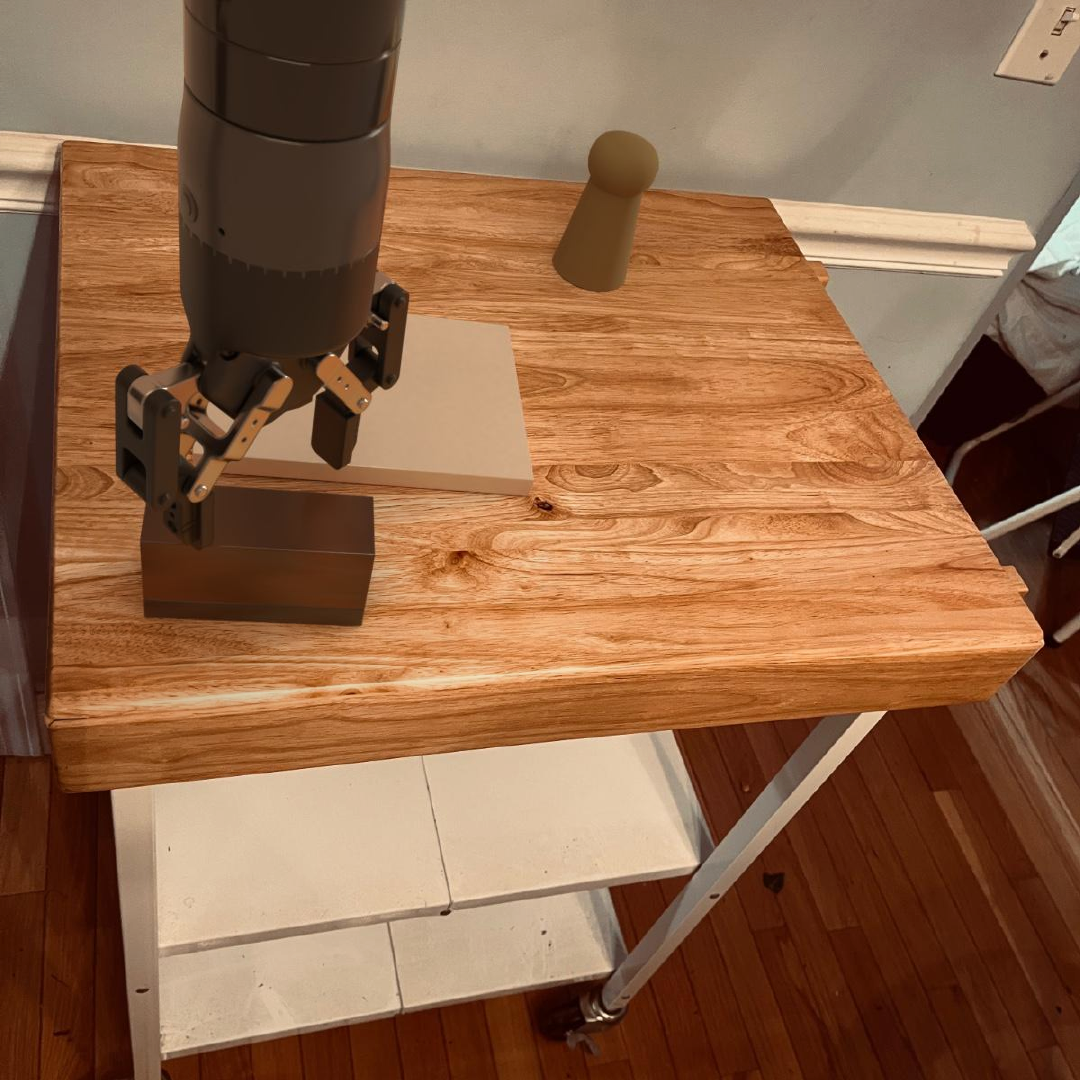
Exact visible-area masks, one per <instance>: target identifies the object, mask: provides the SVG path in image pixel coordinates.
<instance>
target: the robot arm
mask: <svg viewBox="0 0 1080 1080" xmlns="http://www.w3.org/2000/svg"><path fill="white" fill-rule="evenodd" d="M406 9H407V0H182V34H183V35H182V36H183V37H182V38H183V39H182V41H183V43H182V44H183V74H184V75H183V89H182V91H183V92H182V98H181V99H182V100H181V104H180V105H181V106H180V111H179V119H178V130H177V142H176V143H177V144H176V145H177V150H176V153H177V154H176V155H177V159H176V160H177V199H178V202H177V203H178V207H177V208H178V210H177V211H178V259H179V261H178V262H179V265H178V267H179V293H180V294H179V295H180V299H181V302H182V307H183V309H184V314H185V317H186V320H187V323H188V327H189V338H188V342H187V344H186V346H185V349H184V351H183V353H182V355H181V358H180V363H179V364H177V365H174V366H171V367H169V368H167V369H164V370H161V371H159V372H156V373H153V374H152V375H150V374H149V373H148V372H147V371H145V370H144V369H143V368H142V367H141V366H140V365H139V364H129V365H127V366H124V367H123V368H122V369H121V370H120V371H119V372H118V373H117V375H116V377H115V380H114V400H115V401H114V413H115V414H114V418H115V419H114V420H115V421H114V422H115V424H114V426H115V427H114V428H115V430H114V431H115V433H114V435H115V439H114V440H115V475H116V477H117V478H118V479H119V480H121V481H122V483H124V484H125V485H126V486H127V487H128V488H129V489H130V490H131V491H133V493H135V495H137V496H138V498H140V499H141V500H142V501H144V503H145V504H146V503H147V504H148V505H149V506H150V507H151V508H152V509H153V510H154V511H156V512H162V514H163V515H162V520H163V524H164V525H165V526H166V528H167V529H168V530H169V531H171V532H172V533H173V534H174V535H175V536H176V537H177V538H178V539H179V540H180V541H181V542H182V543H184V544H185V545H186V546H188V545H191V546H193V547H194V548H195V549H196V550H198V551H200V550H202V549H204V548H205V547H207V546H209V545H211V544H212V543H213V542H214V492H213V491H211V490H212V489H213V487H214V485H217V482H218V480H219V479H220V477H221V476H222V474H223V473H222V472H223V471H224V469H225V467H226V466H227V464H228V463H229V462H231V461H240V460H241V459H243V457H244V456H245V454H246V453H247V451H248V449H249V448H250V446H251V445H252V443H253V441H254V440H255V438H256V436H257V435H258V433H259V432H260V430H261V428H262V427H264V426H266V425H268V424H270V423H272V422H273V421H274V420H276V419H277V418H278V417H280V416H281V415H282V414H284V413H285V412H287V411H290V410H294V409H298V408H301V407H302V406H304V405H306V404H308V403H310V402H312V401H313V395H315V394H316V393H317V392H318V391H319V390H320V389H321V387H323V388H324V389H325V391H323V392H321V393H319V394H317V395H316V399H315V408H314V418H313V428H312V437H311V446H312V449H313V450H314V452H315V453H316V454H317V455H318V456H319V457H320V458H322V459H323V460H324V461H325V462H326V463H328V464H329V465H330V466H331V467H332V468H334V469H335V470H340V469H341V468H343V467H345V466H347V465H348V464H350V462H351V456H352V451H353V449H354V447H355V445H356V443H357V437H358V435H357V434H358V430H359V429H358V428H359V423H360V417H361V413H362V412H363V411H365V410H366V409H367V408H368V406H369V405H370V403H371V400H372V395H371V393H372V392H373V391H374V390H375V389H377V388H378V387H379V386H380V387H381V388H382V389H384V390H388V389H390V388H392V387H393V386H394V385H395V384H396V382H397V381H398V379H399V376H400V369H401V361H402V353H403V345H404V337H405V329H406V321H407V314H409V313H408V312H409V304H410V293H409V292H408V291H407V290H406V289H404V288H403V287H402V286H400V285H399V284H398V283H397V282H396V281H395V280H393V279H392V278H390V277H389V276H388V275H387V274H385V273H383V271H380V270H379V269H378V262H379V255H380V247H381V240H382V234H383V226H384V220H385V214H386V205H387V198H388V193H389V185H390V176H391V168H392V167H391V164H392V145H391V144H392V143H391V140H392V139H391V135H392V134H391V133H392V132H391V129H392V125H391V124H392V115H393V105H394V104H393V103H394V97H395V88H396V82H397V76H398V75H397V74H398V67H399V61H400V53H401V47H402V40H403V39H402V37H403V34H404V33H403V32H404V25H405V18H406V17H405V16H406ZM348 344H349V347H348V361H349V362H348V363H347V364H346V365H344V363H343V362H342V361H341V360H340V357H341V355H342V354H343V352H344V350H345V349H346V347H347V345H348ZM373 346H374V347H375V348H376V350H377V352H378V354H376V353H375V352H374V351H372V347H373ZM209 402H211V403H212V404H213V405H215V406H216V407H217V408H218V409H220V410H221V411H222V412H224V413H225V414H226V415H227V416H229V417H230V418H231V419H233V420H234V422H233V424H232V426H231V427H230V429H229V430H228V432H227V433H226V432H225V431H224V430H222V429H221V428H220V427H219V426H218V425H217V424H215V423H214V422H213V421H212V420H211V419H210V418H209V417H208V415H207V406H208V403H209ZM196 441H197V442H198V443H199V444H200V445H201V446H202V447H203V450H204V452H203V455H202V457H201V459H200V460H199V462H198V464H197V465H196V467H194V466H193V465H192V462H190V461H189V460H188V459H187V457H188V455H189V454H190V452H191V450H193V445H194V444H195V442H196Z"/></svg>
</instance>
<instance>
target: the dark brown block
mask: <svg viewBox="0 0 1080 1080" xmlns="http://www.w3.org/2000/svg"><path fill="white" fill-rule="evenodd" d="M211 491H213V492H214V542H213V543H212V544H211V545H209V546H207V547H205V548H204V549H202V550H200V551H198V550H196V549H195V548H194V547H193V546H191V545H188V546H186V545H185V544H184V543H182V542H181V541H180V540H179V539H178V538H177V537H176V536H175V535H174V534H173V533H172V532H171V531H169V530H168V529H167V528H166V526H165V525H164V524H163V520H162V515H163V514H162V512H156V511H154V510H153V509H152V508H151V507H150V506H149V505H148V504H147V503H146V502H145V505H144V511H143V518H142V525H141V531H140V537H139V553H140V567H141V568H140V569H141V589H142V605H143V606H142V607H143V608H142V609H143V616H144V617H145V618H156V619H157V618H158V619H178V620H179V619H182V620H183V619H184V620H205V621H206V620H207V621H227V622H228V621H231V622H253V623H254V622H256V623H276V624H277V623H279V624H281V623H282V624H303V625H327V626H354V627H361V626H362V625H363V621H364V615H365V611H366V605H367V600H368V595H369V590H370V584H371V580H372V576H373V569H374V565H375V559H376V527H375V526H376V525H375V497H374V496H372V495H360V494H359V495H357V494H345V493H342V494H341V493H331V492H318V491H317V492H316V491H313V492H312V491H303V490H302V491H301V490H289V489H288V490H287V489H274V488H262V487H247V486H233V485H218V484H215V485H214V487H213V489H212V490H211Z"/></svg>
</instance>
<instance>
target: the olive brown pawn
mask: <svg viewBox="0 0 1080 1080" xmlns="http://www.w3.org/2000/svg"><path fill="white" fill-rule="evenodd" d="M659 168H660V160H659V155H658V151H657V149H656V148H655V146H654V145H653V144H652V143H651V142H650V141H648V140H647V139H646V138H644V137H643V136H641V135H639V134H637V133H635V132H631V131H626V130H620V129H619V130H617V129H614V130H609V131H605V132H603V133H602V134H600V135H599V136H598V137H597V138H596V139H595V141H593V143H592V145H591V147H590V150H589V153H588V156H587V169H588V173H589V175H590V176H589V177H588V180H587V182H586V185H585V186H584V188H583V191H582V193H581V195H580V197H579V199H578V202H577V204H576V206H575V208H574V210H573V212H572V214H571V217H570V219H569V221H568V223H567V225H566V228H565V230H564V232H563V233H562V236H561V239H560V241H559V243H558V245H557V247H556V249H555V252H554V254H553V256H552V264H553V265H552V266H553V268H554V269H555V270H556V272H557V274H558V275H560V276H561V277H562V278H563V279H564V280H565V281H567V282H568V283H570V284H572V285H574V286H575V287H578V288H581V289H584V290H586V291H594V292H598V293H599V292H611V291H614V290H617V289H619V288H621V286H623V285H624V283H625V281H626V277H627V272H628V267H629V263H630V259H631V254H632V253H631V252H632V248H633V243H634V238H635V233H636V228H637V223H638V219H639V212H640V209H641V203H642V198H643V193H645V192H646V191H647V190H649V189H650V188H651V186H652V185H653V183H654V182H655V179H656V177H657V174H658V172H659Z"/></svg>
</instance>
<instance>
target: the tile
mask: <svg viewBox="0 0 1080 1080" xmlns="http://www.w3.org/2000/svg"><path fill="white" fill-rule="evenodd" d="M510 330H511V329H510V326H509V325H507V324H497V323H490V322H481V321H473V320H464V319H456V318H447V317H439V316H429V315H421V314H414V313H413V314H412V313H407V321H406V329H405V337H404V345H403V353H402V361H401V369H400V376H399V379H398V381H397V382H396V384H395V385H394V386H393V387H392V388H390V389H388V390H384V389H382V388H381V387H380V386H379V387H378V388H377V389H375V390H374V391H373V392H372V393H371V395H372V400H371V403H370V405H369V406H368V408H367V409H366V410H365V411H363V412H362V413H361V417H360V423H359V428H358V429H359V430H358V434H357V435H358V437H357V443H356V445H355V447H354V449H353V451H352V456H351V462H350V464H348V465H347V466H345V467H343V468H341V469H340V470H335V469H334V468H332V467H331V466H330V465H329V464H328V463H326V462H325V461H324V460H323V459H322V458H320V457H319V456H318V455H317V454H316V453H315V452H314V450H313V449H312V446H311V437H312V428H313V418H314V408H315V399H316V395H317V394H319V393H321V392H323V391H325V389H324V388H323V387H321V389H320V390H319V391H318V392H317V393H316V394H315V395H313V401H312V402H310V403H308V404H306V405H304V406H302V407H301V408H298V409H294V410H290V411H287V412H285V413H284V414H282V415H281V416H280V417H278V418H277V419H276V420H274V421H273V422H272V423H270V424H268V425H266V426H264V427H262V428H261V430H260V432H259V433H258V435H257V436H256V438H255V440H254V441H253V443H252V445H251V446H250V448H249V449H248V451H247V453H246V454H245V456H244V457H243V459H241V460H240V461H231V462H229V463H228V464H227V466H226V467H225V469H224V471H223V472H222V474H228V475H229V474H230V475H243V476H244V475H245V476H255V477H267V478H268V477H269V478H270V477H271V478H283V479H298V480H310V481H324V482H335V483H349V484H364V485H376V486H389V487H404V488H414V489H415V488H416V489H430V490H443V491H454V492H455V491H457V492H466V493H467V492H470V493H482V494H495V495H496V494H497V495H510V496H521V497H529V496H530V493H531V490H532V487H533V485H534V481H535V478H534V471H533V466H532V461H531V460H532V459H531V454H530V447H529V441H528V433H527V430H526V423H525V422H526V421H525V417H524V411H523V410H524V409H523V405H522V404H523V403H522V397H521V392H520V386H519V380H518V374H517V367H516V362H515V355H514V349H513V344H512V336H511V331H510ZM348 347H349V344H348V345H347V347H346V349H345V350H344V352H343V354H342V355H341V357H340V360H341V361H342V362H343V363H344V365H346V364H347V363H348V362H349V361H348ZM372 351H374V352H375V353H376V354H378V352H377V350H376V348H375V347H374V346H373V347H372ZM207 415H208V417H209V418H210V419H211V420H212V421H213V422H214V423H215V424H217V425H218V426H219V427H220V428H221V429H222V430H224V431H225V432H226V433H227V432H228V430H229V429H230V427H231V426H232V424H233V422H234V420H233V419H231V418H230V417H229V416H227V415H226V414H225V413H224V412H222V411H221V410H220V409H218V408H217V407H216V406H215V405H213V404H212V403H211V402H209V403H208V406H207ZM203 452H204V450H203V447H202V446H201V445H200V444H199V443H198V442H197V441H196V442H195V444H194V445H193V447H192V453H191V455H192V456H191V457H192V458H191V459H192V460H191V461H192V462H191V464H192V465H193V466H194V467H196V465H197V464H198V462H199V460H200V459H201V457H202V455H203Z"/></svg>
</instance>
